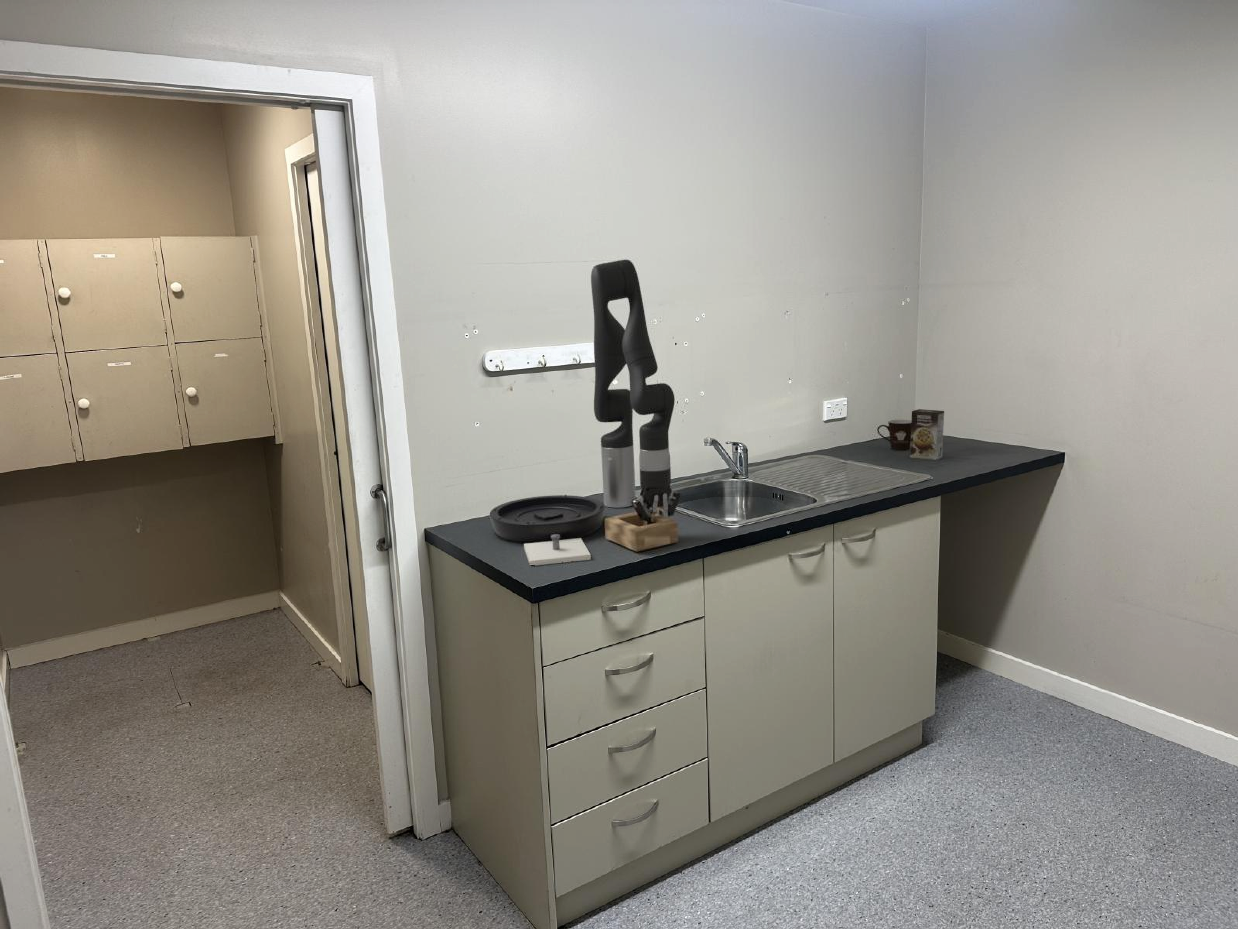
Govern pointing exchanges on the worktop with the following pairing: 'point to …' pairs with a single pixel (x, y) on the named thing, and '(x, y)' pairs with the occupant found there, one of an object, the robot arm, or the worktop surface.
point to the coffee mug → (898, 434)
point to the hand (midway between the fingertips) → (657, 534)
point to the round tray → (547, 518)
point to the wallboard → (556, 551)
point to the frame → (641, 531)
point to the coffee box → (927, 434)
